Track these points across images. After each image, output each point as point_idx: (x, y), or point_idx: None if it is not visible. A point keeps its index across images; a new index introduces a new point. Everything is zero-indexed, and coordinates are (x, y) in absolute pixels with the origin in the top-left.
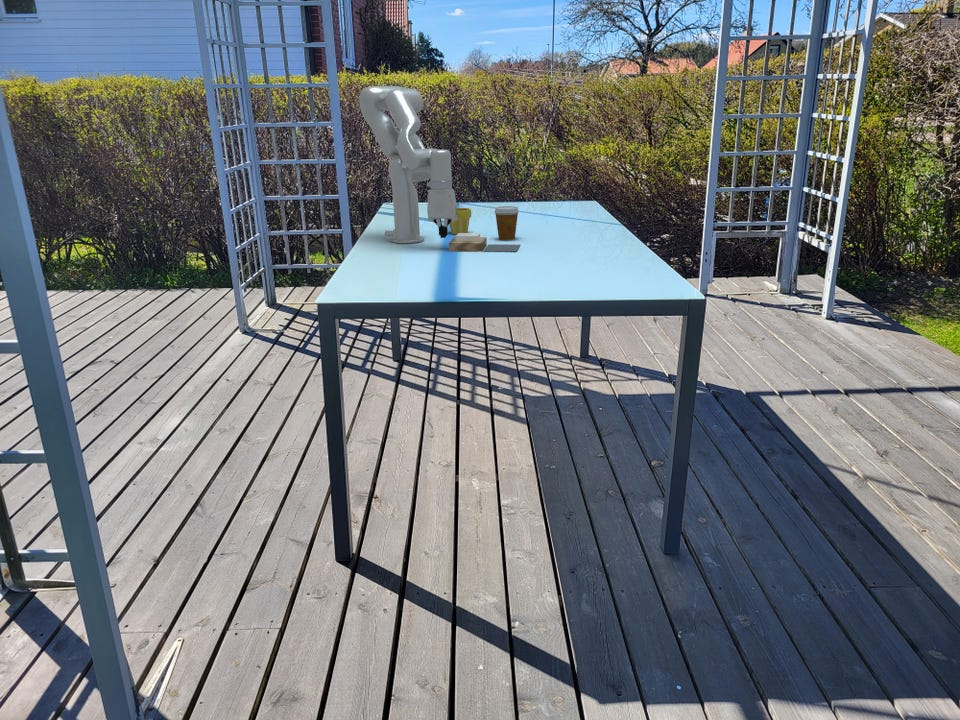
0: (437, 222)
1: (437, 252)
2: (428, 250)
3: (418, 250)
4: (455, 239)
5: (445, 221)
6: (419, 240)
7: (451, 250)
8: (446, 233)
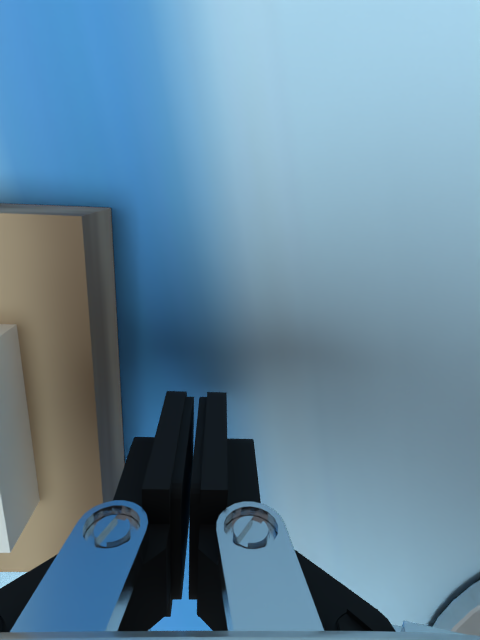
0: (288, 579)
1: (230, 140)
2: (345, 260)
3: (450, 260)
4: (60, 451)
5: (81, 599)
6: (459, 611)
7: (79, 207)
8: (136, 446)
